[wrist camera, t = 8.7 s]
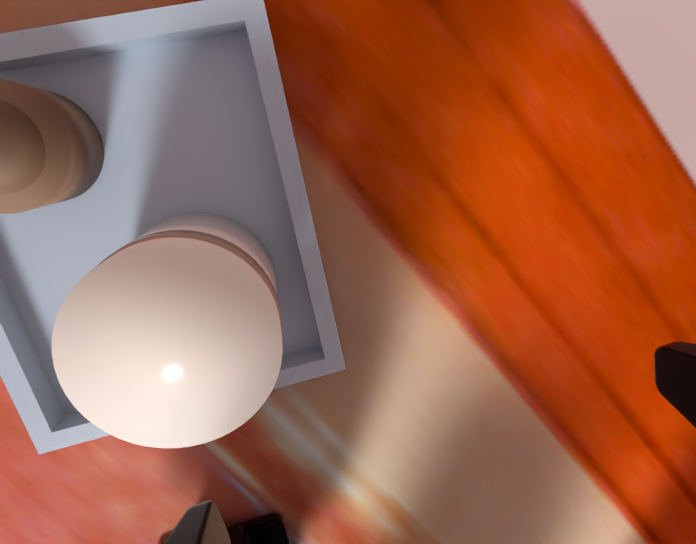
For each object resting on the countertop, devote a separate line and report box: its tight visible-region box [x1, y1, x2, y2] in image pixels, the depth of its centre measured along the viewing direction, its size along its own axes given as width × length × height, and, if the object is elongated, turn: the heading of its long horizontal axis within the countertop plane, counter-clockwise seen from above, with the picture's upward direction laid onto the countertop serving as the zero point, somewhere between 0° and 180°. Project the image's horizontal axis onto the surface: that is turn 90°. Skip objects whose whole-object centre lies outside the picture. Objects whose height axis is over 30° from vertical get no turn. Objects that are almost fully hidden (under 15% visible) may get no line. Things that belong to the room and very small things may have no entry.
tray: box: [0, 0, 346, 454], centre depth 18 cm, size 15×13×2 cm
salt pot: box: [0, 78, 104, 214], centre depth 15 cm, size 4×4×4 cm
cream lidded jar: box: [52, 212, 283, 448], centre depth 16 cm, size 6×6×7 cm
